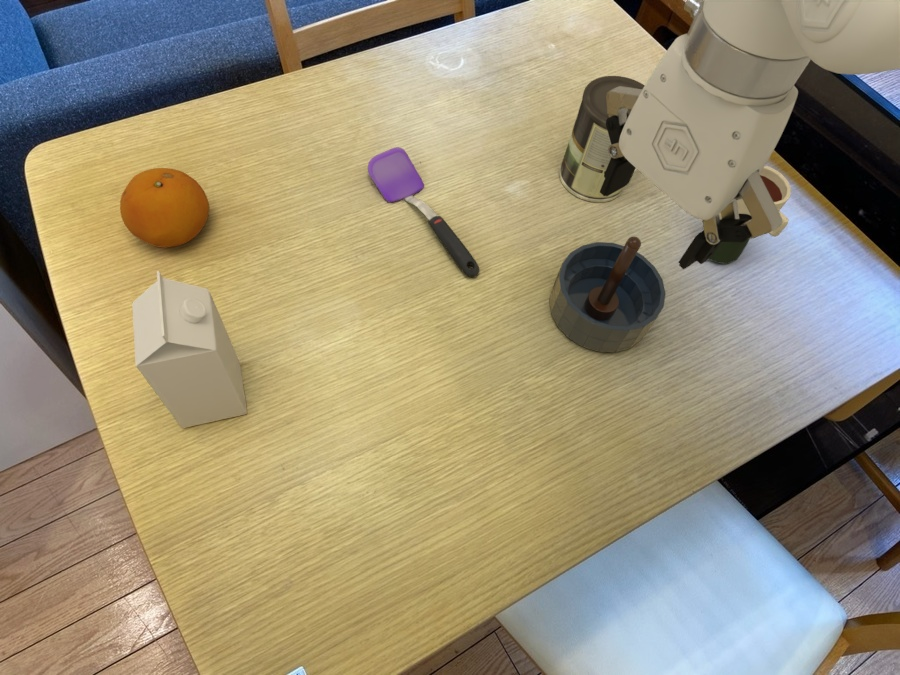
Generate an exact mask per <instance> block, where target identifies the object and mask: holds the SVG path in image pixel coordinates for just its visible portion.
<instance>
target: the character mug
mask: <svg viewBox="0 0 900 675" xmlns="http://www.w3.org/2000/svg"><path fill="white" fill-rule="evenodd" d="M760 176H761V178H762V180H763V182H764V184H765V186H766V188H767V190H768V192H769V194H770V196H771V198H772V200H773V202H774V204H775V206H776V208H777V210H778V212H779V213H780V215H781V217H782V220H783V221H782V224H781V225H780V226H779V227H777V228H776V229H774V230H773V231H771V232H770V233H768V235H770V236H771V237H773V238H777V237H778V236H779V235H780V234H781V233H782V232H783V231H784V229H785V228H786V227H787V226H788V225H789V221H790V219H789V217H787V216H786V215H785V214H784V213H783V212H781V210H782V209H783V207H784V205H786V203H787V202H788V201H789V199H790V198H791V193H792V187H791V184H790V183H789V182H790V181H789V180H788V179H787V178H786V177H785V176H784V175H783V174H782V173H781V171H778V170H776V169H775V168H773V167H771V166H767V165H765V166H764V168H763V170H762V171H761V173H760ZM737 205H738V212H739V219H752V217H751V214H750V212H749V210H748V208H747V207H746V205H745V203H744V201H743V199H742V198H741V199H740V200H737ZM719 217H720V219H722V217H721V213H719ZM749 241H750V239H748V240H746V241H744V242H722V243H721V244H720V246H719V247H718V249H717V250H716V251H715V253H714V254H713V255H712V256H711V257H710V258H709V259H708V260H710V261H713V262H715V263H718V264H726V265H727V264H730V263H732V262H734V261H737V260H738V259H739V258H740V256H741V255H742V254H743V252H744V250H745V248H746V247H747V245H748V243H749Z"/></svg>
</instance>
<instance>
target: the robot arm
mask: <svg viewBox="0 0 900 675" xmlns="http://www.w3.org/2000/svg"><path fill="white" fill-rule="evenodd" d="M684 2H685V3H684V5H683V10H684V11H685V12H686V13H688V14H689V16H690V18H691V19H692V22H691V24H690V27H689V30H688V32H687V33H684V34H681V35H679V36H677V37H676V38H675V39H674V41H673V42H672V43H671V45H670V46H669V47H668V48H667V50H666V51H665V53H664V55H662V57H661V58H660V60H659V62H658V63H657V65H656V66H655V68H654V70H653V71H652V73H651V74H650V76H649V77H648V79H647V80H646V83H645V84H644V85H645V86H644V88H643V89H636V88H630V87H623V86H618V87H616V88H614V89H612V90H610V91H608V92H607V94H606V102H607V114H608V119H607V120H606V127H607V131H608V134H609V138H610V141H611V145H610V146H609V147H608V153H609V155H610V156H611V159H610V162H609V164H608V167H607V169H606V171H605V174H604V177H605V180H604V182H603V185H602V187H601V190H600V193H601V194H602V195H603V196H609V195H610V194H612V193H614V192H616V191H617V190H619V189H621V188H623V187H625V188H626V187H627V185H629V184H630V181H631V179H632V178H633V175H634V173H635V170H637V171H639V172H640V173H641V174H642V175H643V176H644V177H645V178H646V179H647V180H648V181H650V182H651V183H652V184H653V185H654V186H656V187H657V188H658V189H659V191H661V192H662V193H664V194H665V195H666V196H667V197H668V198H669V199H670V200H672V202H674V203H675V204H677V206H678V207H680V208H681V209H682V210H683V211H684V212H686V213H687V214H689V215H690V216H692V217H694V218H695V219H698V220H701V221H702V227H703V229H702V231H701V232H699V233H697V234H696V236H694V238H693V239H692V241H691V242H690V244H689V245H688V247H687V248H686V250H685V252H684V253H683V255H682V256H681V257H680V259H679V261H678V263H679V264H678V266H679V267H680V268H681V269H682V270H685V269H687V268H688V267H690V266H692V265H693V264H694V263H696V262H697V263H698V264H699V265H703V264H704V263H706V262H707V261H708V260H710V259H709V258H710V257H711V256H712V255H713V254H714V253H715V251H716V250H717V249H718V247H719V246H720V244H721V243H722V242H744V241H746V240H748V239H749V240H751V239H755V238H758V237H762V236H764V235H767V234H769V233H770V232H771V231H773V230H774V229H776V228H777V227H779V226H780V225H781V224H782V221H783V220H782V217H781V215H780V213H779V212H778V210H777V208H776V206H775V204H774V202H773V200H772V198H771V196H770V194H769V192H768V190H767V188H766V186H765V184H764V182H763V180H762V178H761V176H760V173H761V171H762V170H763V168H764V166H767V163H768V161H769V159H770V158H771V156H772V154H773V153H774V151H775V148H776V147H777V145H778V144H779V141H780V139H781V137H782V135H783V132H784V131H785V129H786V126H787V124H788V122H789V120H790V117H791V114H792V112H793V110H794V108H795V104H796V102H797V99H798V95H799V90H798V88H797V87H796V86H795V84H796V83H797V82H798V80H799V78H800V77H801V75H802V74H803V72H804V71H805V70H806V68H807V66H808V65H809V63H810V62H811V61H812V62H813V63H814V64H815V65H817V66H819V67H820V68H822V69H824V70H826V71H828V72H831V73H835V74H840V75H848V76H849V75H853V76H854V75H868V74H875V73H876V74H878V73H884V72H889V71H895V70H900V0H686V1H684ZM628 109H632V110H631V112H630V114H628V113H627V111H628ZM741 198H742V199H743V201H744V203H745V205H746V207H747V208H748V210H749V212H750V214H751V217H752V219H739V212H738V205H737V200H740V199H741ZM719 213H721V217H722V219H720V217H719Z"/></svg>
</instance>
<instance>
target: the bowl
mask: <svg viewBox="0 0 900 675" xmlns="http://www.w3.org/2000/svg"><path fill="white" fill-rule="evenodd" d="M624 246H625V245H622V244H619V243H615V242H606V241H605V242H601V241H597V242H592V243H591V242H590V243H587V244H583V245H581V246H579V247H577V248H576V249H574V250H572V251H570V252H569V254H568V255H567V257H565V259H564V260H562V261H563V262H562V263H561V265H560V269H559V270H558V272H557V276H556V278H555V281H554V283H553V286H552V289H551V292H550V296H549V306H550V314H551V316H552V318H553V320H554V323H555V325H556V326H557V327H558V329H560V331H561V332H562V333H563V334H564V335H565V336H566V337H567V339H569V340H570V341H572V342H574V343H575V344H577V345H579V346H580V347H583V348H586V349H589V350H592V351H596V352H599V353H618V352H623V351H625V350H628V349H631V348H632V347H634V346H635V345H637V344H638V343H640V341H642V340H643V338H645V336H646V334H647V332H648V331H649V330H650V328H651V327H652V326H653V324H654V323H655V321H657V319H658V316H659V315H660V313H661V312H662V310H663V309H664V307H665V300H666V296H667V295H666V288H665V284H664V281H663V278H662V276H661V275H660V273H659V271H658V270H657V268H656V266H655V265H654V264H652V263H651V261H650V260H648V258H646V257H645V256H644V255H643V254H641V253H639V252H637V253H636V255H635V257H634V259H633V261H632V262H631V264H630V266H629V268H628V270H627V271H626V273H625V275H624V277H623V279H622V281H621V282H620V284H619V286H618V288H617V290H616V291H615V293H616V294H617V296H618V298H619V306H618V308H617V309H616V311H615V313H614V314H613V316H612V317H611V318H610V319H607V320H596V319H594V318H592V317H591V316H589V315H588V313H587V312H586V310H585V306H584V305H585V301H586V299H587V297H588V295H589V293H590V291H591V290H592V289H594V288H596V287H603V286H604V284H605V282H606V280H607V278H608V277H609V275H610V273H611V271H612V269H613V267H614V265H615V263H616V261H617V259H618V257H619V255H620V253H621V251H622V249H623V247H624Z"/></svg>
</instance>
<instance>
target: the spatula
mask: <svg viewBox="0 0 900 675" xmlns="http://www.w3.org/2000/svg"><path fill="white" fill-rule="evenodd" d="M367 173H368V176H369V177H370V178H371V180H372V182H373V183H374V185H375V186H376V189H378V191H379V193H380V194H381V195H382V196H383V198H384V200H385V201H386V202H388V203H395V202H398V201H402V200H403V201H405V202H406V203H409V204H411V205H413V206H414V207H415V208H416V209H418V210H419V211H420V212H421V213H422V214H423V216H425V218H426V219H427V221H428V225H429V227H430V228H431V230H432V231H433V233H434V234H435V236H436V237H437V239H438V240H439V242H440V243H441V244H442V246H443V248H444V249H445V250H446V252H447V253H448V254H449V256H450V258H452V260H453V262H454V263H455V265H456V266H457V267H458V268H459V270H461V272H462V273H463V274H464V275H465V276H467V277H469V278H474V277H477V276H478V275H479V274H480V270H481V268H480V265H479V264H478V263H477V261H476V260H475V257H474V256H473V255H472V253H470V251H469V250H468V248H467V247H466V246H465V244H464V243H463V242H462V241H461V239H460V238H459V236H458V235H457V234H456V233H455V232H454V230H453V228H452V227H451V226H449V225H448V223H447V222H446V220H445V219H444V218H443V217H442V216H441V215H438V214H437V213H436V212H435V211H434V210H433V208H431V206H429V204H427V203H426V202H424V201H423V200H421V199H419V198H417V197H415V196H414V195H415V194H417V193H419V192H420V191H422V190H423V189H424V187H425V184H424V181H423V180H422V177H421V176H420V174H419V172H418V170H417V169H416V167H415V165H414V163H413V162H412V160H411V158H410V157H409V155H408V153H407V151H406V150H405V149H404V148H402V147H399V146H397V147H393V148H392V147H391V148H390V149H388V150H385V151H383V152H381V153H378V154H376V155H374V156H372V157H371V159H370V160H369V161H368V164H367ZM469 267H470V268H469Z"/></svg>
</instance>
